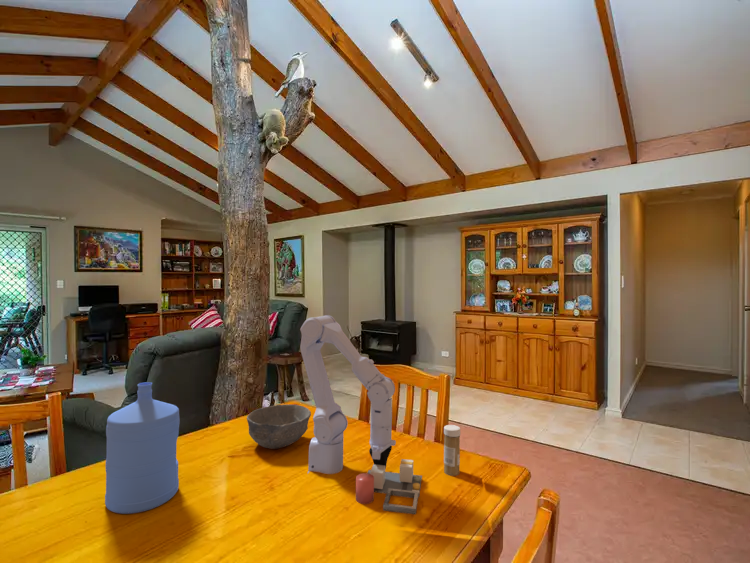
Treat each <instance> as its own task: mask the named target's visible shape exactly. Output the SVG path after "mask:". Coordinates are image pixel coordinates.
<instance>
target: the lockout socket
mask: <svg viewBox="0 0 750 563" xmlns="http://www.w3.org/2000/svg"><path fill="white" fill-rule="evenodd" d="M391 496H395V497H404V498H409V499H410V498H411V499H413V502H412V506H409V505H403V504H402V505H401V504H393V503H390V499H391ZM418 501H419V497H418V492H417V491H408V490H399V489H391V488H388V491H387V494H385V497H384V501H383V505H382V511H386V512H394V513H399V514H400V513H402V514H408V515H409V514H410V515H416V514H417V508H418Z"/></svg>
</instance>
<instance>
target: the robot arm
mask: <svg viewBox="0 0 750 563" xmlns="http://www.w3.org/2000/svg"><path fill="white" fill-rule="evenodd" d="M299 330H300V333H301V340H300V353H301V357H302V360H303V365H304V368H305V371H306V372H305V373H306V374H307V378H308V384H309V387H310V390H311V394H312V397H313V398H312V399H313V401H314V405H315V412H314V414H313V417H312V420H313V435H314V437H312V438H311V440H310V442H309V445H308V471H307V474H309V473H310V472H316V473H321V474H327V475H335V474H338V473H340V472H342V470H343V468H344V432H345V431H346V430H347V427H348V419H347V416H346V415H345V413H344V412H343V410H342V408H341V406H340V405H339V404H338V403H336V402H335V398H334V394H333V391H332V387H331V384H330V381H329V376H328V374H327V372H328V371H327V369H326V366H325V362H324V358H323V356H322V351H321V349H322V348H323V346H324V344H326V343H327V344H332V345H334V347H335V348H336V349H337V350H338V351H339V352H340V353H341V354H342V355H343V356H344V358H346V360H347V361H348V362H349V363H350V364H351V372H352V373H353V375H354V376H355V377H356V378H357V379H358V381H359V382H360V383H361V384H362V385H363V386H364V388H365V389H366V390H367V392H366V394H367V397H368V399H369V401H370V435H369V436H370V439H369V445H370V448H369V456H370V457H371V459H372V461H373V465H374V464H375V465H385V470H386V468H387V463H388V458H389V456H390V454H391V452H392V449H393V446H394V447H395V446H396V443H397V442H396V441H397V440H394V439H392V431H393V430H392V423H393V422H392V421H393V420H392V419H393V399H392V396H393V395H394V394H395V392H396V387H395V384H394V382H393V380H392V379H391V377H387V376H385V374H384V373H381V372H380V371H379V369H378V368H377V366H376V365H375V364H374V363H375V362H374V360H373V359H372V358H371V359H370V358H369V357H367V356H362V355H361V354H360V352H359V351H358V349H357V348H356V347H355V345H353V343H352V342H351V340H350V339H349V338H348V336H347V334H346V333H344V331H343V329H342V326H341V325H340V323H339V322H337V321H336V319H335V317H334V316H332V315H329V314H326V315H320V316H313V317H312V316H311V317H308V318H307V319H306V320H304V322H303V323H302V325H301V327H300V329H299Z"/></svg>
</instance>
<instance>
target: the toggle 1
mask: <svg viewBox="0 0 750 563" xmlns="http://www.w3.org/2000/svg"><path fill="white" fill-rule="evenodd" d="M370 470H371V472H370V474H371V475H373V476H374V488H377V489H383V486H384V483H385V472H386V469H385V465H375V464H374V463H373V465H372V467H371V469H370Z"/></svg>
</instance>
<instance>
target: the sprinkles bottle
mask: <svg viewBox="0 0 750 563" xmlns="http://www.w3.org/2000/svg"><path fill="white" fill-rule="evenodd" d="M443 435H444V439H443V441H444V442H443V472H444V474H445V475H447V476H451V477H456V476H459V475H460V463H461V461H460V460H461V458H460V456H461V450H460V445H461V444H460V441H461V440H460V438H461V437H460V436H461V427H460V426H458V425H454V424H446V425H444V427H443Z"/></svg>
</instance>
